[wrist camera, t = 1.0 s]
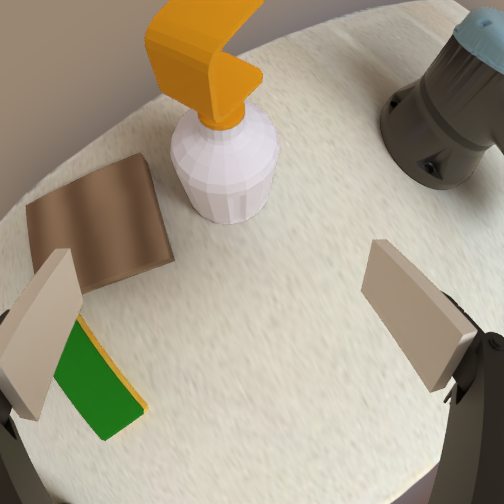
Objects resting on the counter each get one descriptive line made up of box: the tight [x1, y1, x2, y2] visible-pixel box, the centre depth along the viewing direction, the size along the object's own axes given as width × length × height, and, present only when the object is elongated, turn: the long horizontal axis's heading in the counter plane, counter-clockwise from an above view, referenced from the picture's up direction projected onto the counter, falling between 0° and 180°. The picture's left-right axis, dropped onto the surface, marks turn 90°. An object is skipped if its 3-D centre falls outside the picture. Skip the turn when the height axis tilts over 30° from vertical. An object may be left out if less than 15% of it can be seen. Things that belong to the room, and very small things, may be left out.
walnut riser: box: [26, 153, 175, 294], centre depth 31 cm, size 16×12×3 cm
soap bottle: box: [145, 0, 280, 224], centre depth 22 cm, size 9×9×25 cm
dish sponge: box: [53, 314, 148, 441], centre depth 29 cm, size 7×14×2 cm, turn 40°
